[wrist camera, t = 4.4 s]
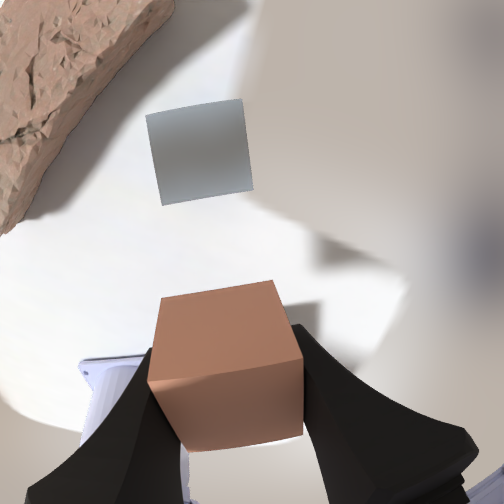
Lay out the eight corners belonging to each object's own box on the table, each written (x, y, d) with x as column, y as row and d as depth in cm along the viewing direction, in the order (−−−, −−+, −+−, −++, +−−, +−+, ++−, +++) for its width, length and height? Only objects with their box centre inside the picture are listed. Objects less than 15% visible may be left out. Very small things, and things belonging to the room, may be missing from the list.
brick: (23, 228, 16) (-14, 259, 12) (-44, 160, 13) (-86, 175, 9) (185, 13, 13) (179, -20, 8) (94, -44, 9) (70, -76, 5)
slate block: (243, 173, 17) (253, 190, 13) (172, 186, 16) (162, 205, 13) (234, 103, 15) (241, 98, 11) (160, 116, 15) (145, 115, 11)
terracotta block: (279, 358, 13) (303, 434, 9) (187, 373, 12) (188, 452, 9) (272, 279, 11) (303, 357, 7) (161, 298, 11) (147, 381, 7)
